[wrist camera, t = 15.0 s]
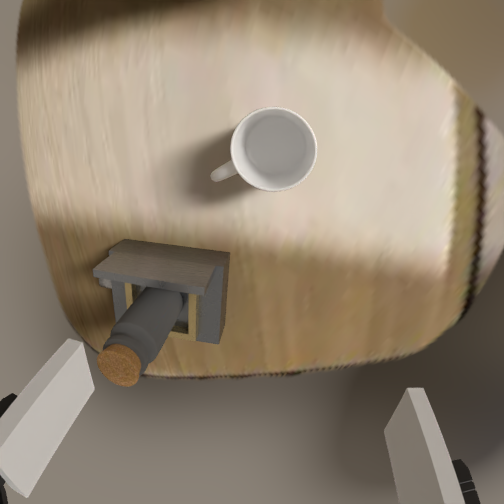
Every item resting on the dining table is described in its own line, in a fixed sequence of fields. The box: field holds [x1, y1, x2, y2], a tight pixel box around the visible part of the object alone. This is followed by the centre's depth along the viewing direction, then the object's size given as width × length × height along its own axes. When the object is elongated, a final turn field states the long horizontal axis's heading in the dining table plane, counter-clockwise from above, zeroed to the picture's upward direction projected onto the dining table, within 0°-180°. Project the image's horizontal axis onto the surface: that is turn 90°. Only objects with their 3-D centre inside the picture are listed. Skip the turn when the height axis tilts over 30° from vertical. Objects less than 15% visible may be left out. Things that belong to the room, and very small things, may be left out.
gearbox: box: [93, 239, 230, 344], centre depth 42 cm, size 12×19×11 cm, turn 84°
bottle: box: [97, 287, 183, 386], centre depth 36 cm, size 6×6×15 cm
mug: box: [211, 107, 317, 192], centre depth 35 cm, size 12×8×10 cm
